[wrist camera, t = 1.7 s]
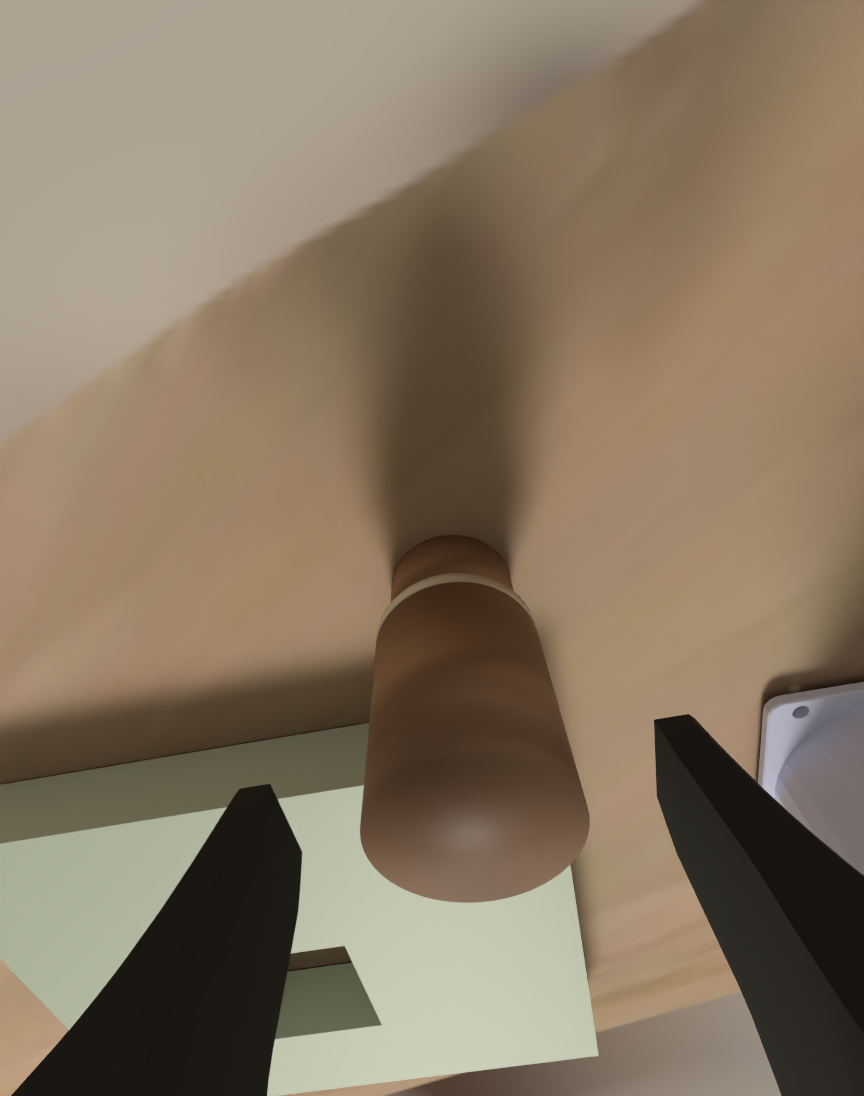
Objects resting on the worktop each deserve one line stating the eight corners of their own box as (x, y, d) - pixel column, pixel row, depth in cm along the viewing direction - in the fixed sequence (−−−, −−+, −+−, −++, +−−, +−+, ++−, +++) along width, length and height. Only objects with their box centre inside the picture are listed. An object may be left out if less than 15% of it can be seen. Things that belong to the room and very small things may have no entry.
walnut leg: (510, 513, 17) (579, 731, 10) (529, 631, 19) (597, 886, 12) (366, 540, 17) (332, 772, 10) (398, 654, 19) (389, 915, 12)
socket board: (538, 694, 20) (554, 754, 18) (584, 990, 28) (598, 1055, 26) (-43, 791, 21) (-96, 859, 19) (166, 1045, 30) (147, 1111, 28)
